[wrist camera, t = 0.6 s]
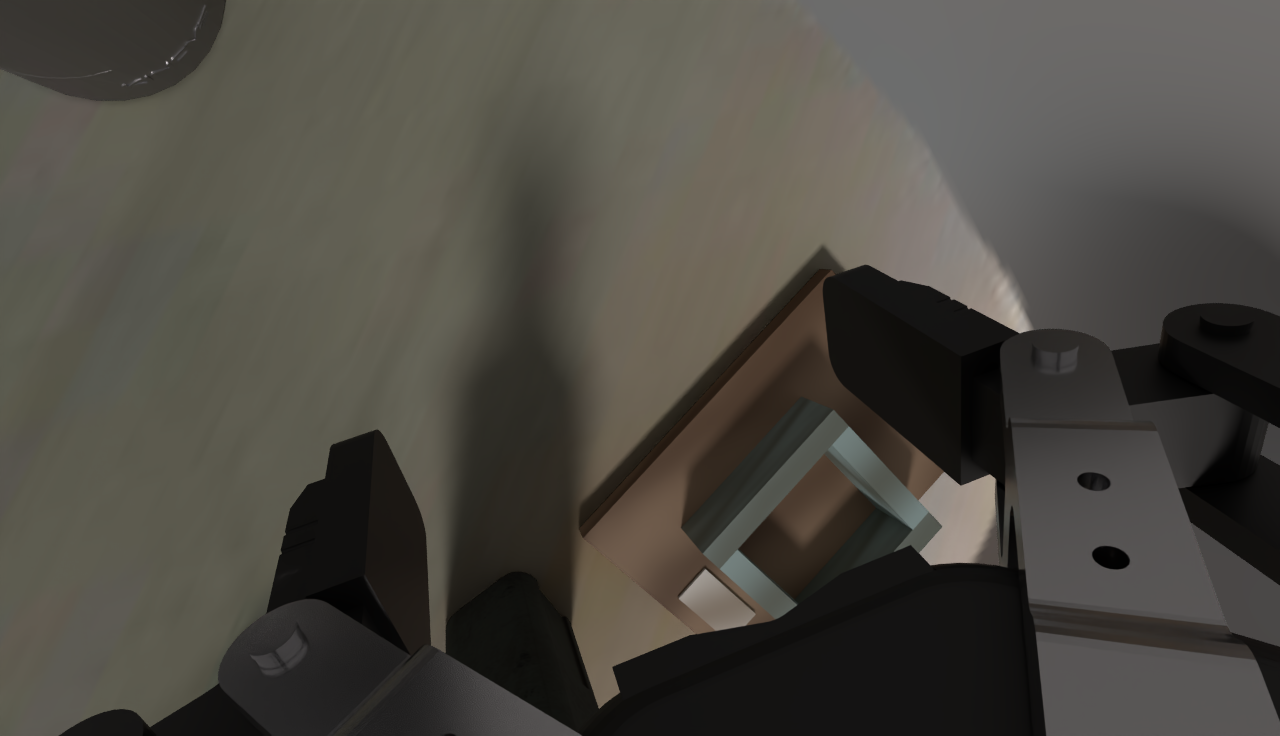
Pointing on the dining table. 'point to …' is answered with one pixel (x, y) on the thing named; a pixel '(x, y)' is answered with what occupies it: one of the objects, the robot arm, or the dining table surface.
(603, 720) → the robot arm
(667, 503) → the socket board
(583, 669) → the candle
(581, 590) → the dining table surface
